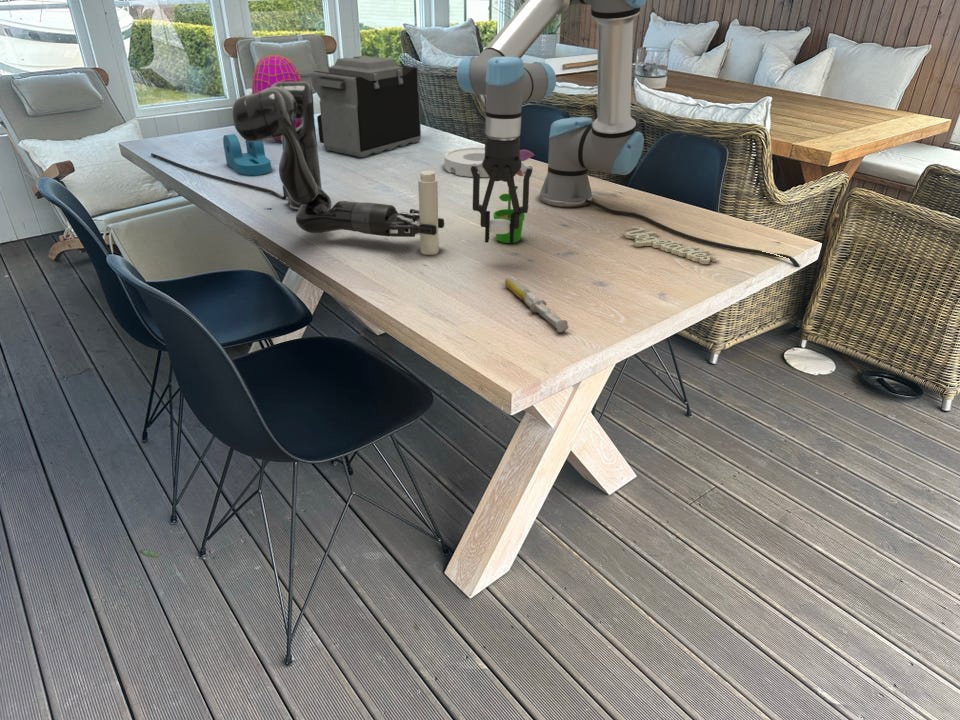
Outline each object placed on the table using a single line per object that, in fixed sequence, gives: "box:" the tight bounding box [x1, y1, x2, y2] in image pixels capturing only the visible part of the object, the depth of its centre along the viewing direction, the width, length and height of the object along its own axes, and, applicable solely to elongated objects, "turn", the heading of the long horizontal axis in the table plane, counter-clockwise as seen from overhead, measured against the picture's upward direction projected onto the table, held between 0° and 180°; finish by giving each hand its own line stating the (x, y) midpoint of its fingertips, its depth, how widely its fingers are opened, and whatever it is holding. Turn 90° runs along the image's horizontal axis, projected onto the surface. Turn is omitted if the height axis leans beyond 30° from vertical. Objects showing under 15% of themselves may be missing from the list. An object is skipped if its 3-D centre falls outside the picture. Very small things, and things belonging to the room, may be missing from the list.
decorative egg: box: [251, 54, 303, 142], centre depth 257 cm, size 19×19×30 cm
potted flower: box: [493, 149, 535, 244], centre depth 168 cm, size 9×8×25 cm
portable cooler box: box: [310, 55, 422, 159], centre depth 250 cm, size 37×22×30 cm, turn 144°
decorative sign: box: [624, 226, 717, 265], centre depth 170 cm, size 26×1×10 cm
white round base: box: [443, 146, 490, 178], centre depth 232 cm, size 23×23×4 cm
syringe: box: [504, 275, 569, 334], centre depth 140 cm, size 25×4×3 cm, turn 21°
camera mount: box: [222, 133, 272, 176], centre depth 226 cm, size 18×10×10 cm, turn 35°
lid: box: [489, 218, 511, 235], centre depth 155 cm, size 5×5×2 cm
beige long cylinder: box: [417, 170, 440, 256], centre depth 162 cm, size 4×4×19 cm
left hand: (439, 226), depth 163 cm, fingers closed on beige long cylinder, 4 cm apart
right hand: (499, 240), depth 157 cm, fingers closed on lid, 5 cm apart
